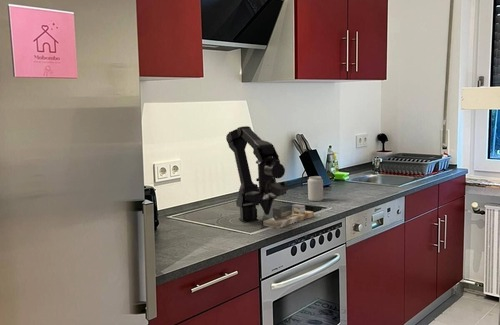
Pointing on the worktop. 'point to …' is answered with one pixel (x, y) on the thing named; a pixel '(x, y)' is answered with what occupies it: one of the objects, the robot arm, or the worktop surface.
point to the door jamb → (288, 219)
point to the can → (315, 188)
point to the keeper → (301, 208)
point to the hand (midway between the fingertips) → (267, 214)
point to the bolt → (278, 214)
